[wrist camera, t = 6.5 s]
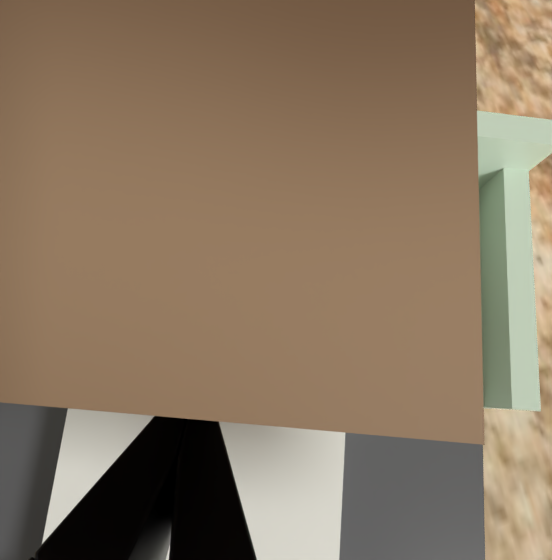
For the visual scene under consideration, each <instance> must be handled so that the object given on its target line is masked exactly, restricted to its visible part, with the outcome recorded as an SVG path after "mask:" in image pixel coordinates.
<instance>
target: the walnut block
mask: <svg viewBox="0 0 552 560" xmlns="http://www.w3.org/2000/svg"><path fill="white" fill-rule="evenodd" d="M0 402H2V403H13V404H24V405H36V406H47V407H59V408H70V409H82V410H93V411H105V412H116V413H127V414H139V415H150V416H162V417H173V418H185V419H196V420H207V421H219V422H230V423H242V424H253V425H265V426H276V427H288V428H299V429H310V430H322V431H333V432H345V433H356V434H368V435H379V436H390V437H402V438H413V439H425V440H436V441H448V442H459V443H471V444H482V445H484V406H483V361H482V316H481V270H480V225H479V180H478V135H477V89H476V44H475V0H0Z"/></svg>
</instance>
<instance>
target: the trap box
mask: <svg viewBox="0 0 552 560" xmlns="http://www.w3.org/2000/svg"><path fill="white" fill-rule="evenodd" d="M477 135H478V180H479V225H480V270H481V316H482V361H483V406H484V408H487V409H505V410H524V411H541V407H540V387H539V367H538V348H537V328H536V308H535V288H534V268H533V249H532V229H531V209H530V189H529V170H531V169H532V168H533V167H535V166H536V165H537V164H538V163H540V162H541V161H542V160H543V159H545V158H546V157H547V156H549V155H550V154H551V153H552V120H549V119H541V118H533V117H524V116H516V115H508V114H500V113H492V112H484V111H477ZM153 417H154V416H150V415H139V414H127V413H116V412H105V411H93V410H82V409H70V408H59V407H47V406H36V405H24V404H13V403H2V402H0V560H28V559H29V558H30V557H34V558H35V555H34V554H35V552H36V550H37V549H38V548H39V547H40V546H41V545H42V544H43V542H44V541H45V540H46V539H47V538H48V537H49V536H50V534H51V533H52V532H53V531H54V530H55V529H56V528H57V526H58V525H59V524H60V523H61V522H62V521H63V520H64V519H65V517H66V516H67V515H68V514H69V513H70V512H71V511H72V509H73V508H74V507H75V506H76V505H77V504H78V503H79V501H80V500H81V499H82V498H83V497H84V496H85V495H86V493H87V492H88V491H89V490H90V489H91V488H92V487H93V486H94V484H95V483H96V482H97V481H98V480H99V479H100V478H101V476H102V475H103V474H104V473H105V472H106V471H107V470H108V468H109V467H110V466H111V465H112V464H113V463H114V462H115V461H116V459H117V458H118V457H119V456H120V455H121V454H122V453H123V451H124V450H125V449H126V448H127V447H128V446H129V445H130V443H131V442H132V441H133V440H134V439H135V438H136V437H137V435H138V434H139V433H140V432H141V431H142V430H143V429H144V428H145V426H146V425H147V424H148V423H149V422H150V421H151V420H152V418H153ZM219 424H220V428H221V431H222V435H223V438H224V442H225V446H226V449H227V453H228V456H229V460H230V464H231V467H232V471H233V475H234V478H235V482H236V485H237V489H238V493H239V496H240V500H241V504H242V507H243V511H244V514H245V518H246V522H247V525H248V529H249V532H250V536H251V540H252V543H253V547H254V551H255V554H256V558H257V560H485V535H484V486H483V445H482V444H471V443H459V442H448V441H436V440H425V439H413V438H402V437H390V436H379V435H368V434H356V433H345V432H333V431H322V430H310V429H299V428H288V427H276V426H265V425H253V424H242V423H230V422H219ZM169 552H170V546H169V550H168V553H167V557H166V560H169Z"/></svg>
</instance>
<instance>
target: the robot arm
mask: <svg viewBox="0 0 552 560" xmlns="http://www.w3.org/2000/svg"><path fill="white" fill-rule="evenodd" d="M169 546H170V552H169V560H257V558H256V554H255V551H254V547H253V543H252V540H251V536H250V532H249V529H248V525H247V522H246V518H245V514H244V511H243V507H242V504H241V500H240V496H239V493H238V489H237V485H236V482H235V478H234V475H233V471H232V467H231V464H230V460H229V456H228V453H227V449H226V446H225V442H224V438H223V435H222V431H221V428H220V424H219V421H207V420H196V419H185V418H173V417H162V416H154V417H153V418H152V420H151V421H150V422H149V423H148V424H147V425H146V426H145V428H144V429H143V430H142V431H141V432H140V433H139V434H138V435H137V437H136V438H135V439H134V440H133V441H132V442H131V443H130V445H129V446H128V447H127V448H126V449H125V450H124V451H123V453H122V454H121V455H120V456H119V457H118V458H117V459H116V461H115V462H114V463H113V464H112V465H111V466H110V467H109V468H108V470H107V471H106V472H105V473H104V474H103V475H102V476H101V478H100V479H99V480H98V481H97V482H96V483H95V484H94V486H93V487H92V488H91V489H90V490H89V491H88V492H87V493H86V495H85V496H84V497H83V498H82V499H81V500H80V501H79V503H78V504H77V505H76V506H75V507H74V508H73V509H72V511H71V512H70V513H69V514H68V515H67V516H66V517H65V519H64V520H63V521H62V522H61V523H60V524H59V525H58V526H57V528H56V529H55V530H54V531H53V532H52V533H51V534H50V536H49V537H48V538H47V539H46V540H45V541H44V542H43V544H42V545H41V546H40V547H39V548H38V549H37V550H36V552H35V554H34V555H35V558H34V557H30V558H29V559H28V560H166V557H167V553H168V550H169Z"/></svg>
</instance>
